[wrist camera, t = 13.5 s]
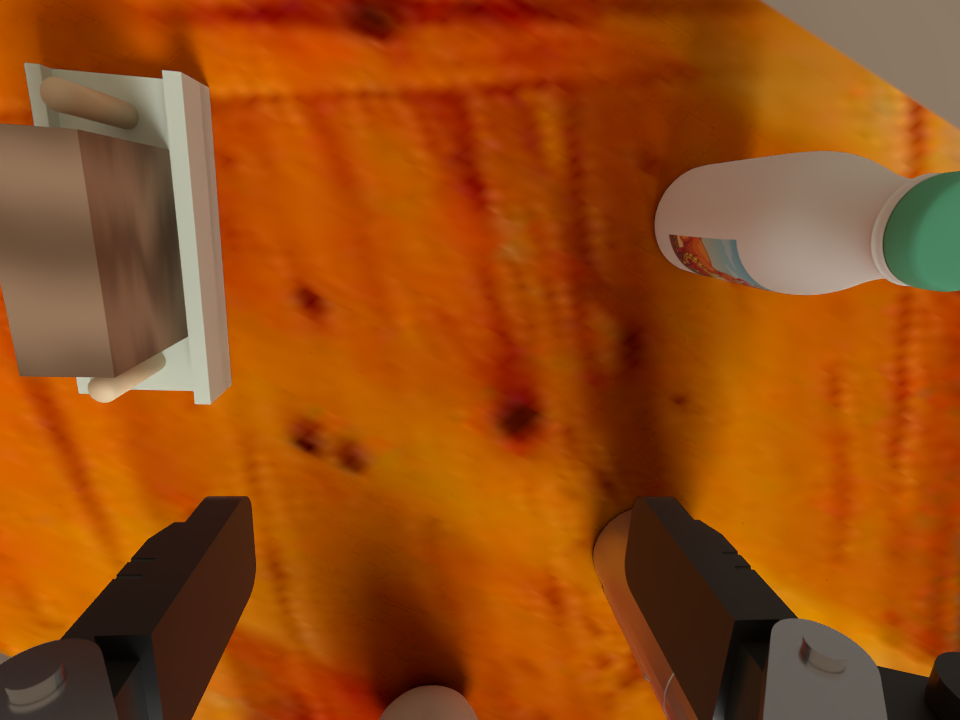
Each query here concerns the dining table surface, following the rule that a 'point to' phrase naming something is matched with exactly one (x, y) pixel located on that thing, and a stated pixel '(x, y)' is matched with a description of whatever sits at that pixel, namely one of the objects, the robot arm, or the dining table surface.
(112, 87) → the ledge
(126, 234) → the wooden block
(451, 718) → the grey bottle
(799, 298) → the dining table surface
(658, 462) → the dining table surface
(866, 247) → the milk bottle
